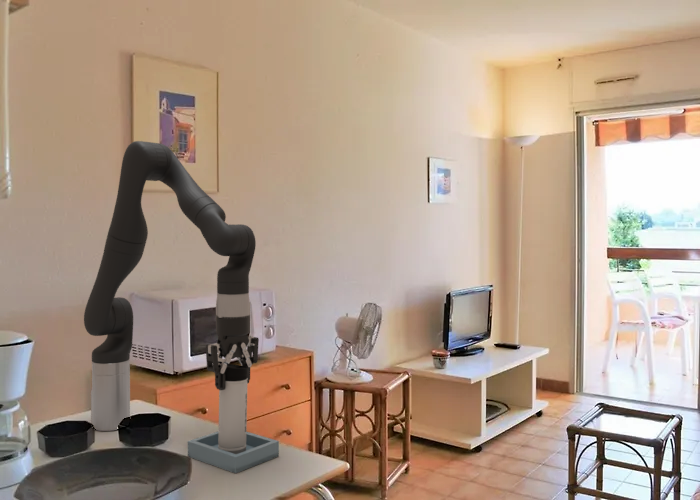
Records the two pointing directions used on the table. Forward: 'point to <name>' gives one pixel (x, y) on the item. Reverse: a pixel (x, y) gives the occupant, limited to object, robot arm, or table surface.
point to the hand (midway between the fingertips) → (232, 386)
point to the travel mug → (233, 410)
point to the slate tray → (255, 453)
